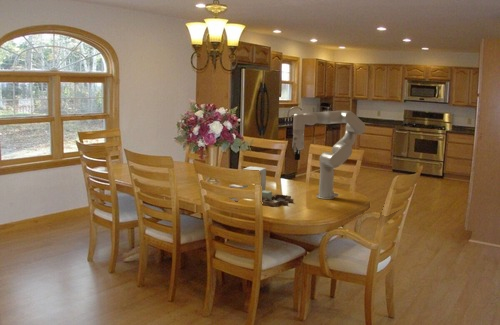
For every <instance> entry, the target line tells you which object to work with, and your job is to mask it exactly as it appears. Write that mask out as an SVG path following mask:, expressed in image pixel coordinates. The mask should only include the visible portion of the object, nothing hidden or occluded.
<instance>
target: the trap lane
mask: <svg viewBox="0 0 500 325" xmlns="http://www.w3.org/2000/svg"><path fill="white" fill-rule="evenodd" d="M273 201H275V202H273ZM262 202H263V205H262V206H268V207H274V208H276V207H278V206H286V205H287V206H289V203H291V204H294V198H292V196H291V195H287V194H286V195H285V194H278V193H277V194H274V195H272V200H271V201H270V199H268V198H262ZM262 202H261V203H262Z"/></svg>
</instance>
